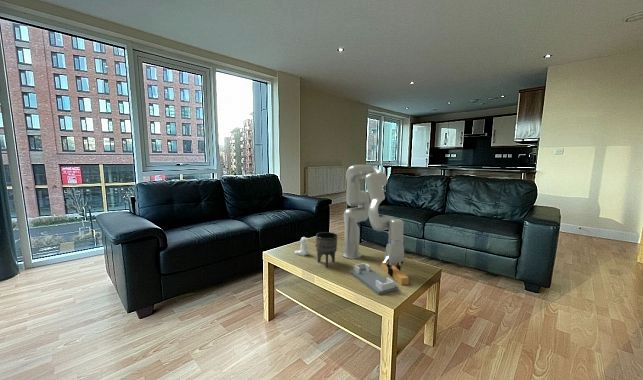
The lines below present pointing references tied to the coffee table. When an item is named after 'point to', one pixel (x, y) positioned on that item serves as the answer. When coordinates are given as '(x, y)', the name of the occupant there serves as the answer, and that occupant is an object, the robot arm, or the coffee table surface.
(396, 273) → the slat
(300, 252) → the sitting furry creature
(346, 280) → the coffee table surface
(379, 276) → the cap board
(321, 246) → the planter
